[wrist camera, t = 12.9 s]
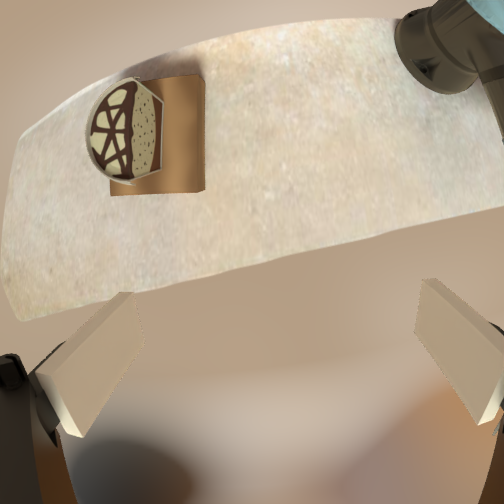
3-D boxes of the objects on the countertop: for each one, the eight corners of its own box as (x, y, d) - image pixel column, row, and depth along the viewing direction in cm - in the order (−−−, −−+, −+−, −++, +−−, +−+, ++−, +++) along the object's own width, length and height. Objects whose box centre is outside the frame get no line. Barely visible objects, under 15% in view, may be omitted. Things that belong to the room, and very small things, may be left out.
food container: (124, 96, 36) (85, 81, 26) (165, 91, 35) (132, 72, 26) (121, 182, 39) (80, 188, 30) (161, 181, 39) (127, 187, 29)
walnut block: (205, 83, 39) (197, 74, 35) (205, 189, 44) (197, 192, 39) (125, 93, 40) (110, 87, 35) (125, 192, 45) (110, 196, 40)
